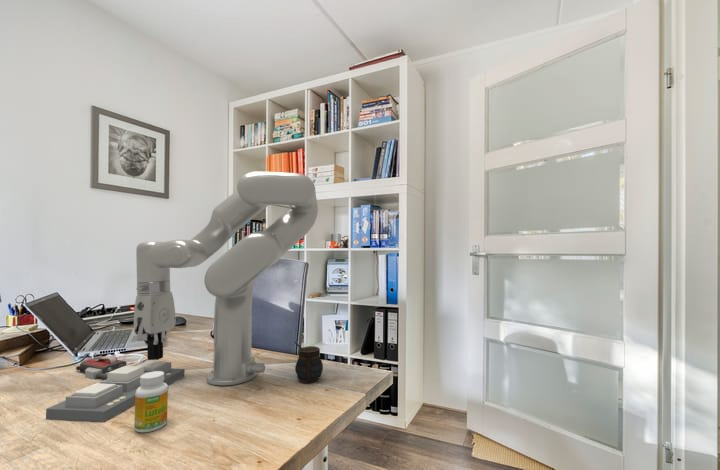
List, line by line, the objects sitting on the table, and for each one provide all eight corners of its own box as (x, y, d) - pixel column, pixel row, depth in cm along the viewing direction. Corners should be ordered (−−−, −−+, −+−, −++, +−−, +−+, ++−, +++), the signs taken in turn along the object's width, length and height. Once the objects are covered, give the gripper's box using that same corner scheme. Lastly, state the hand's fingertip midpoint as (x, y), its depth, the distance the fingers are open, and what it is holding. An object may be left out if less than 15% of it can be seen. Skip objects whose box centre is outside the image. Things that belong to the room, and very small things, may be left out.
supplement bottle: (142, 436, 61) (144, 381, 61) (128, 428, 64) (130, 376, 64) (172, 423, 65) (173, 372, 66) (158, 416, 68) (159, 368, 69)
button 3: (115, 393, 74) (116, 384, 74) (95, 403, 69) (95, 393, 69) (95, 392, 74) (95, 383, 74) (73, 402, 69) (73, 392, 69)
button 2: (143, 374, 82) (143, 366, 82) (126, 382, 77) (127, 373, 77) (124, 374, 82) (125, 365, 82) (107, 381, 77) (107, 372, 77)
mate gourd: (323, 384, 84) (323, 343, 85) (293, 386, 83) (293, 345, 84) (322, 374, 92) (322, 337, 92) (294, 376, 90) (294, 338, 91)
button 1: (165, 368, 90) (166, 361, 90) (152, 375, 85) (152, 367, 85) (148, 368, 90) (149, 360, 90) (134, 374, 85) (134, 366, 85)
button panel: (184, 376, 91) (184, 361, 91) (103, 422, 66) (104, 401, 66) (140, 374, 92) (141, 360, 93) (45, 418, 68) (46, 398, 68)
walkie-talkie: (66, 375, 94) (112, 385, 86) (67, 359, 94) (112, 367, 87) (101, 365, 102) (145, 373, 94) (101, 350, 102) (145, 358, 95)
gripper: (145, 291, 81) (147, 368, 80) (185, 285, 96) (186, 350, 95) (117, 292, 82) (118, 369, 81) (160, 286, 96) (162, 350, 96)
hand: (155, 358), depth 88 cm, fingers closed
